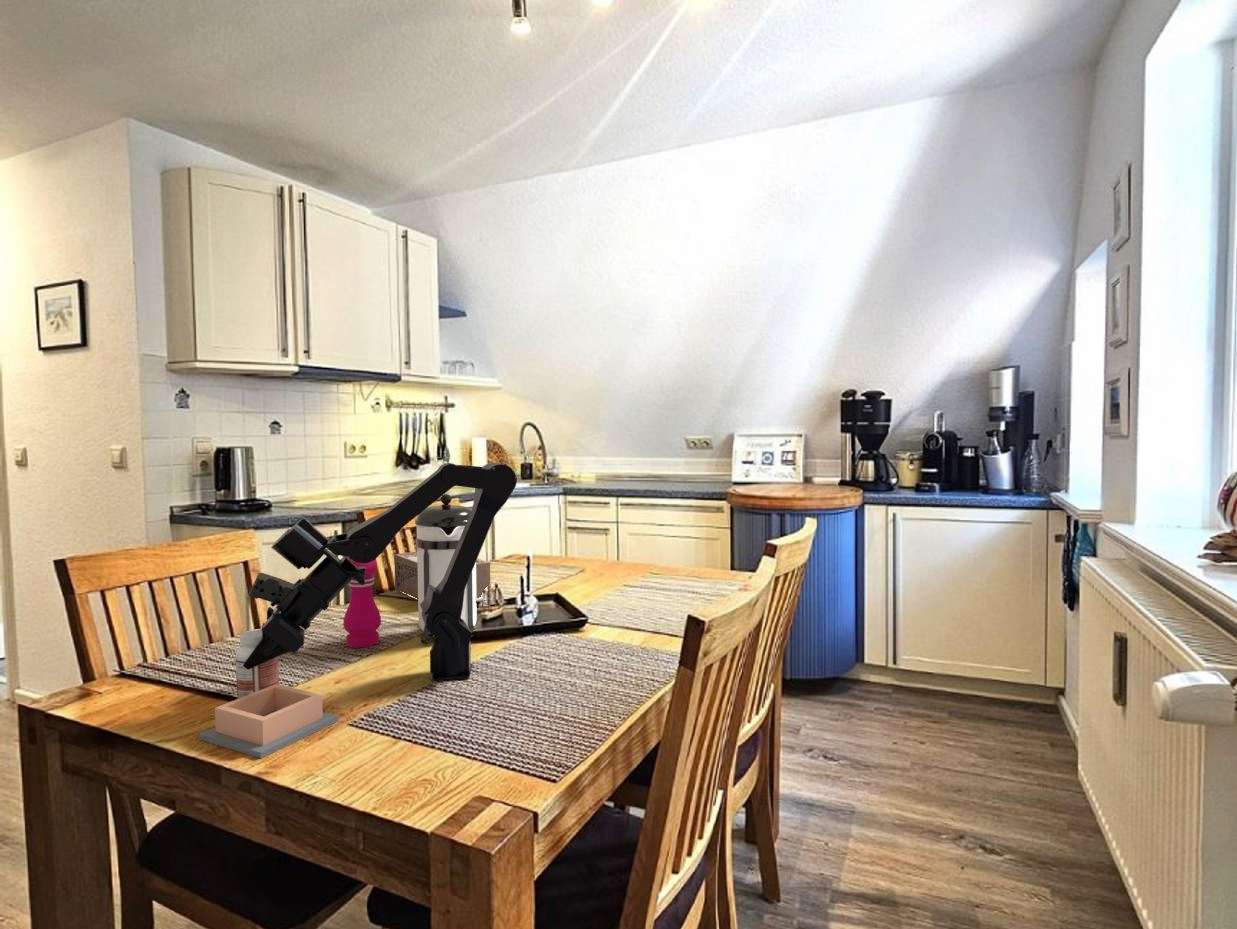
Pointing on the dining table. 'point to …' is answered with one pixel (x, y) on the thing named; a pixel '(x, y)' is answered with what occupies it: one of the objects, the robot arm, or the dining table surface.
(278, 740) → the bottle stand
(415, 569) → the tissue box cover
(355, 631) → the pepper mill
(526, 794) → the dining table surface
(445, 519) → the coffee press
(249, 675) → the pill bottle
